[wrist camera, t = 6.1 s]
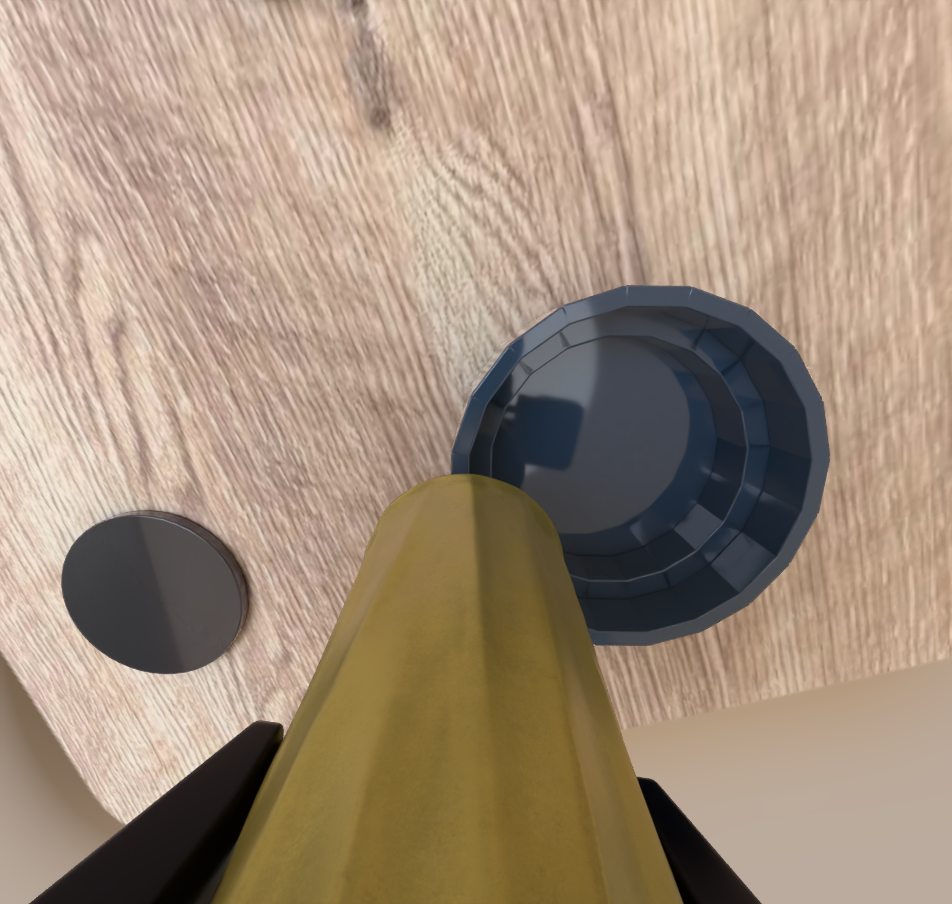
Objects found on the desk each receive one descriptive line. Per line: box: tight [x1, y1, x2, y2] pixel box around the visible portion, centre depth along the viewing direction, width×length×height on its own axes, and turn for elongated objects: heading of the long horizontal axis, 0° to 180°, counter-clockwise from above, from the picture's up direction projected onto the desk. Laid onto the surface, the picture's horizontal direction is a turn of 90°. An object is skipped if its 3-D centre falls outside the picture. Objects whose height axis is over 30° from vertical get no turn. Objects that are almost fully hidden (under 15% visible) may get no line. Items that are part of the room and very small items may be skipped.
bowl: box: [451, 285, 830, 646], centre depth 17 cm, size 12×12×4 cm
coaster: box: [61, 511, 248, 674], centre depth 20 cm, size 8×8×1 cm
